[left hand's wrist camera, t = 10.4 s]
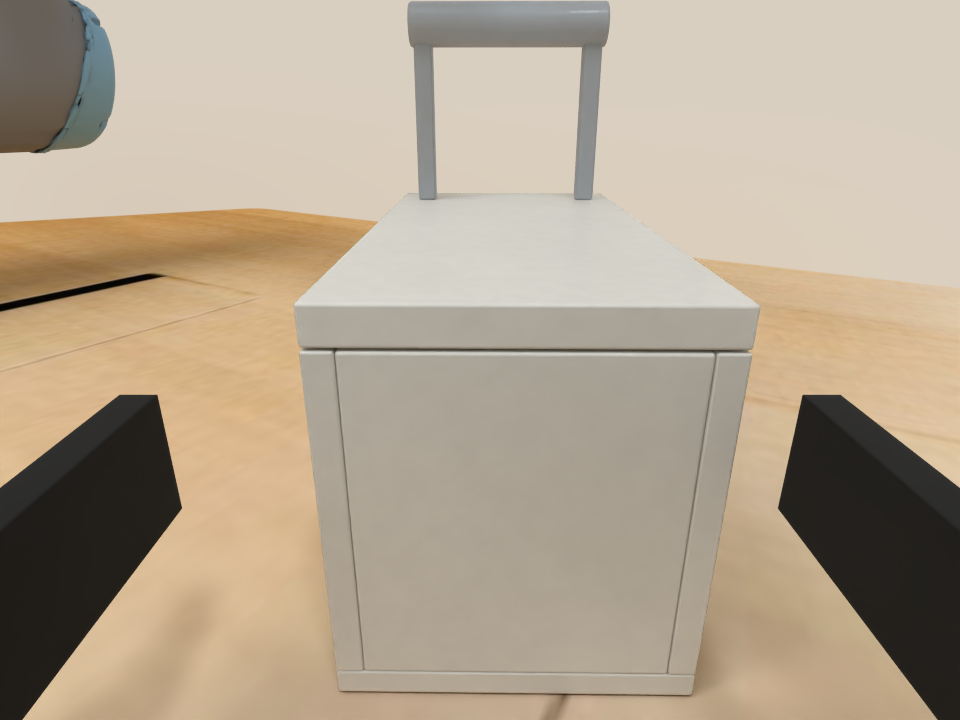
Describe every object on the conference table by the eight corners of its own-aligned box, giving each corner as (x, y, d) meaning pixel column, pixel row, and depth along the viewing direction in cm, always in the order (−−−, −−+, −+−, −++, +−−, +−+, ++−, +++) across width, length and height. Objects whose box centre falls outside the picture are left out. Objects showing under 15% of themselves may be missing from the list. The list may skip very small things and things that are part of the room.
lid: (408, 213, 28) (399, 10, 25) (599, 214, 28) (614, 9, 25) (297, 349, 12) (233, -185, 9) (754, 351, 12) (850, -188, 9)
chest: (413, 400, 31) (406, 217, 28) (589, 402, 31) (603, 217, 28) (337, 692, 15) (297, 351, 12) (692, 696, 15) (754, 353, 12)
